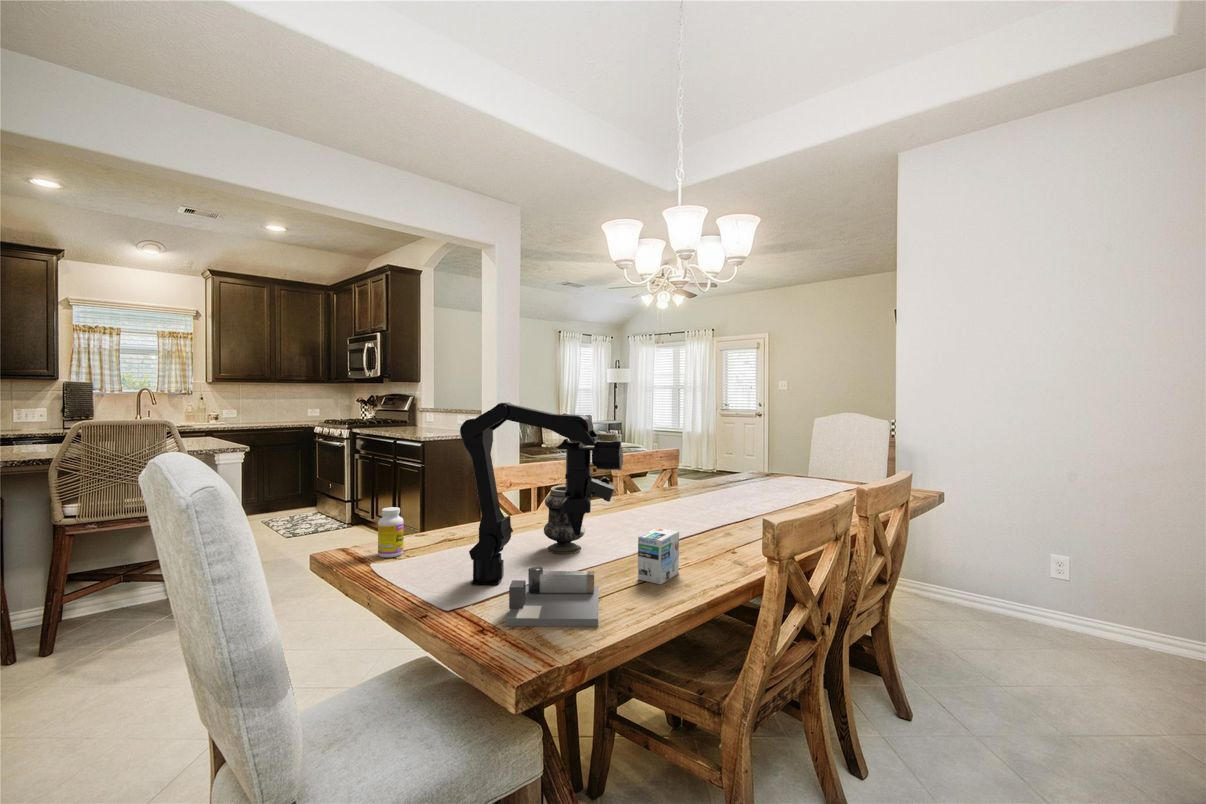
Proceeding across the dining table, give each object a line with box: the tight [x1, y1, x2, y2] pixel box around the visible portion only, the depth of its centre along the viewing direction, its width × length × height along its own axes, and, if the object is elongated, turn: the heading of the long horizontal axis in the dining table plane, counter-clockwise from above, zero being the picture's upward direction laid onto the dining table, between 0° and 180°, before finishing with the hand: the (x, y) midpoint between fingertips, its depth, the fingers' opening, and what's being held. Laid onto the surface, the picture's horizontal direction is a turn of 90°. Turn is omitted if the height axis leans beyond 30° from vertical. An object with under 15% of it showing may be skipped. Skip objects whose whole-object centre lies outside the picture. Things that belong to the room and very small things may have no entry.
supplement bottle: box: [377, 506, 405, 559], centre depth 151 cm, size 7×7×13 cm
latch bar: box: [527, 566, 595, 593], centre depth 120 cm, size 15×3×5 cm, turn 90°
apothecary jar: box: [543, 485, 586, 555], centre depth 157 cm, size 12×12×18 cm
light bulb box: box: [637, 527, 680, 585], centre depth 136 cm, size 11×7×11 cm, turn 148°
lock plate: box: [506, 579, 600, 627], centre depth 115 cm, size 18×18×6 cm
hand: (577, 534), depth 127 cm, fingers closed
